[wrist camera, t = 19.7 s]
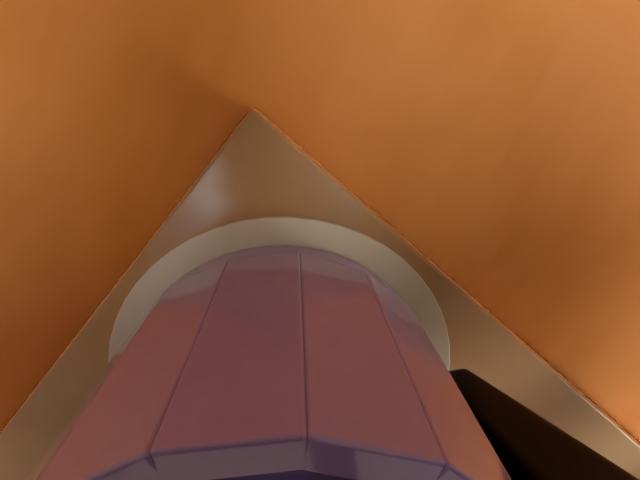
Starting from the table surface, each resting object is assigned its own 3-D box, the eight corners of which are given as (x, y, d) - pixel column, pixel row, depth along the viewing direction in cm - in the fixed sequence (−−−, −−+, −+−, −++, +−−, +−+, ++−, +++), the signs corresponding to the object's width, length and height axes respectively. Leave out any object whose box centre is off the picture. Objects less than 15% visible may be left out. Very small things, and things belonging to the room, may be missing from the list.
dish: (484, 360, 8) (673, 615, 4) (300, 521, 10) (305, 834, 6) (257, 175, 7) (199, 295, 3) (72, 401, 8) (-167, 723, 4)
